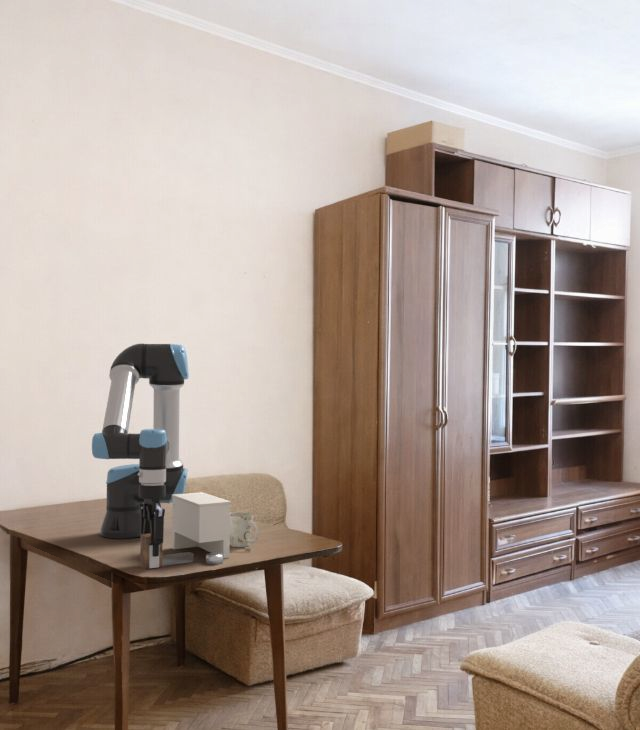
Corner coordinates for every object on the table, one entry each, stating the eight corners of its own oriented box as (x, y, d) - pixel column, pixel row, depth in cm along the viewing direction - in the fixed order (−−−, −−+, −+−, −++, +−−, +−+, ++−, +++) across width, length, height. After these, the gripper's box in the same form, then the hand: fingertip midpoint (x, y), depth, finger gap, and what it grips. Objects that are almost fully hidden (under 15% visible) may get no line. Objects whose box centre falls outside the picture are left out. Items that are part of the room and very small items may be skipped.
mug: (239, 541, 258) (240, 510, 258) (267, 547, 250) (268, 515, 250) (221, 545, 252) (221, 514, 252) (249, 551, 244) (250, 519, 244)
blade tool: (140, 565, 224) (140, 534, 224) (188, 559, 232) (189, 529, 232) (145, 568, 221) (145, 536, 221) (194, 562, 229) (194, 531, 229)
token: (202, 562, 230) (202, 554, 230) (218, 559, 233) (218, 551, 233) (210, 566, 226) (210, 557, 226) (226, 563, 229) (225, 555, 229)
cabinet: (171, 548, 247) (171, 494, 247) (201, 544, 252) (202, 492, 253) (198, 561, 230) (199, 504, 230) (230, 557, 235) (231, 501, 236)
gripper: (128, 480, 229) (127, 561, 229) (151, 488, 215) (149, 574, 214) (153, 479, 233) (152, 557, 233) (176, 486, 219) (175, 570, 219)
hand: (150, 565), depth 224 cm, fingers open, 4 cm apart
